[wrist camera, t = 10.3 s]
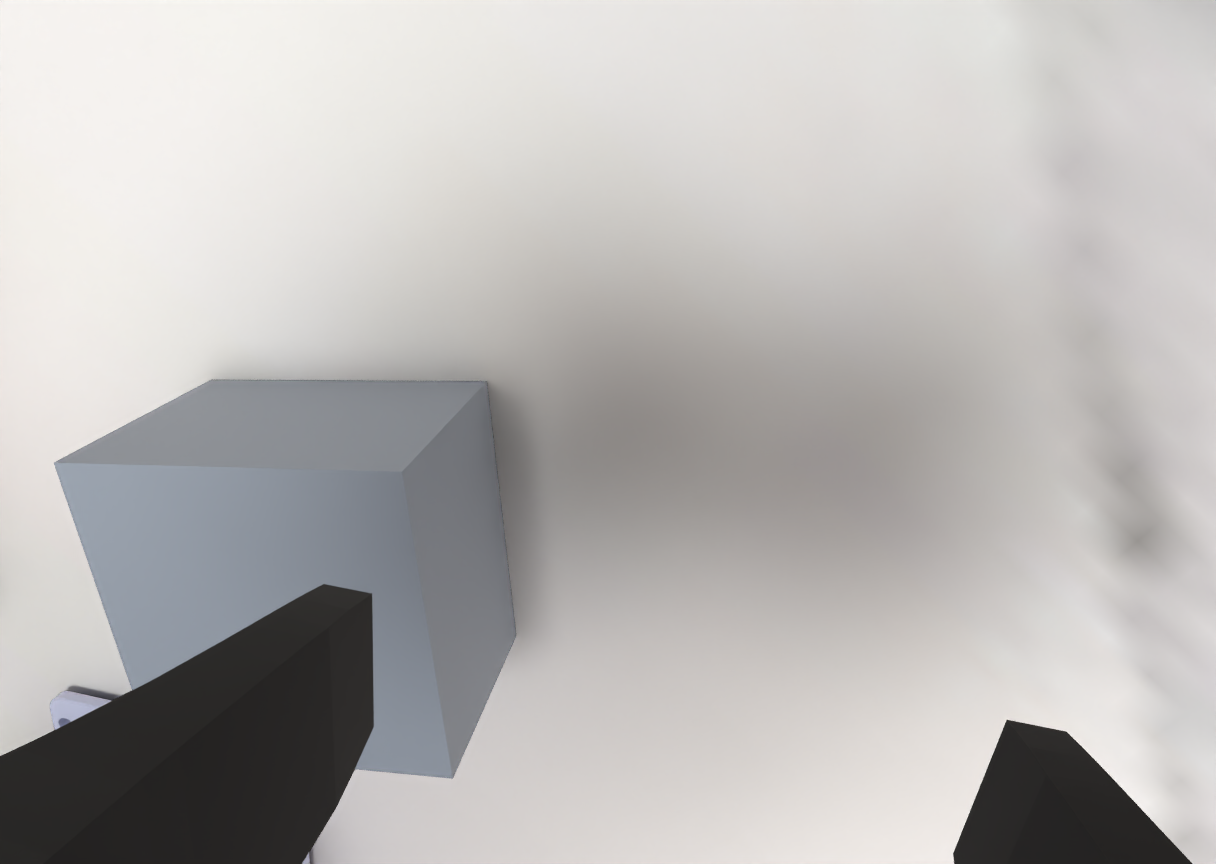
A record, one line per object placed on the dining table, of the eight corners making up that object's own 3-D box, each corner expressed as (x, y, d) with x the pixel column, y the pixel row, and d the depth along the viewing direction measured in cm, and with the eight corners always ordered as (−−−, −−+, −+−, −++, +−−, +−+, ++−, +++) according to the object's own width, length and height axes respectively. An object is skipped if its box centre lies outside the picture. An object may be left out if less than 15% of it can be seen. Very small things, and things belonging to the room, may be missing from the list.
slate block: (517, 631, 21) (453, 778, 17) (275, 616, 22) (152, 749, 18) (489, 378, 19) (401, 471, 14) (215, 377, 20) (53, 462, 15)
